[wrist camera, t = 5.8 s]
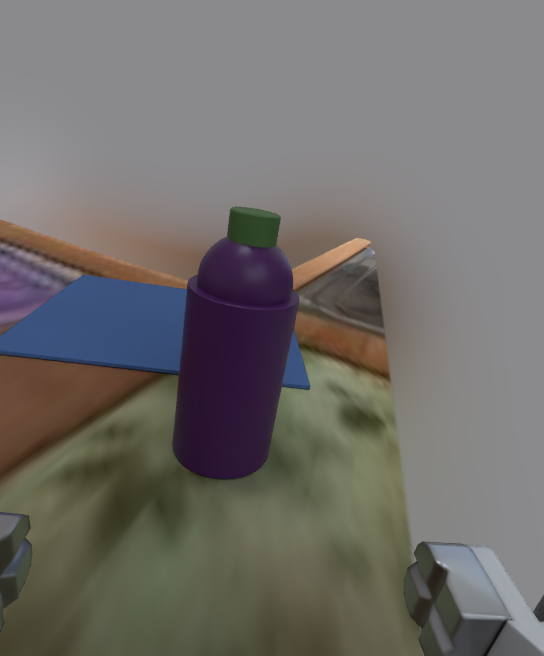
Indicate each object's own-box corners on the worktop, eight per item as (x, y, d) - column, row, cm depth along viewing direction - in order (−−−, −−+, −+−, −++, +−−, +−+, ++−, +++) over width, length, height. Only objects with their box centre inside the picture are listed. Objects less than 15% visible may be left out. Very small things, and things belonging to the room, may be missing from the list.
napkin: (286, 305, 46) (286, 303, 46) (309, 389, 29) (310, 385, 29) (83, 277, 43) (83, 274, 43) (-17, 352, 27) (-17, 348, 27)
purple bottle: (265, 421, 25) (306, 213, 20) (270, 483, 20) (324, 231, 16) (180, 412, 24) (201, 195, 20) (164, 474, 20) (187, 208, 15)
